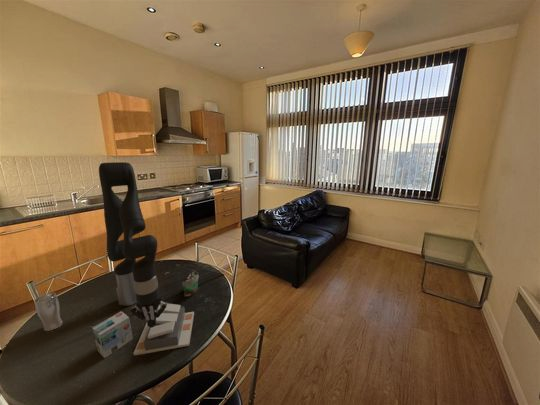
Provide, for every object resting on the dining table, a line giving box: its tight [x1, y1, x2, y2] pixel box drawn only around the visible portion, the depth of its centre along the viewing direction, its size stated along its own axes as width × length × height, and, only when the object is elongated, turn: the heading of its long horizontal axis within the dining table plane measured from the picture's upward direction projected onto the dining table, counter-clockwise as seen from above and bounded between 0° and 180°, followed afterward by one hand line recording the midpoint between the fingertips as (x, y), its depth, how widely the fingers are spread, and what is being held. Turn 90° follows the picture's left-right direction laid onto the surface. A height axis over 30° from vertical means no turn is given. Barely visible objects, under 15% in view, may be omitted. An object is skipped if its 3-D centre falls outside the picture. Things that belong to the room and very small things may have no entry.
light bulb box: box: [92, 311, 133, 359], centre depth 87 cm, size 11×7×11 cm, turn 148°
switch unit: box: [133, 305, 195, 356], centre depth 93 cm, size 20×18×6 cm
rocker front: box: [148, 321, 175, 339], centre depth 87 cm, size 9×4×1 cm, turn 102°
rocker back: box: [156, 302, 182, 314], centre depth 98 cm, size 9×4×1 cm, turn 103°
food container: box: [181, 269, 200, 298], centre depth 119 cm, size 12×6×10 cm, turn 179°
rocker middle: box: [156, 313, 178, 324], centre depth 92 cm, size 9×4×1 cm, turn 103°
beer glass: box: [34, 292, 64, 332], centre depth 95 cm, size 7×7×15 cm
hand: (152, 325), depth 85 cm, fingers closed
